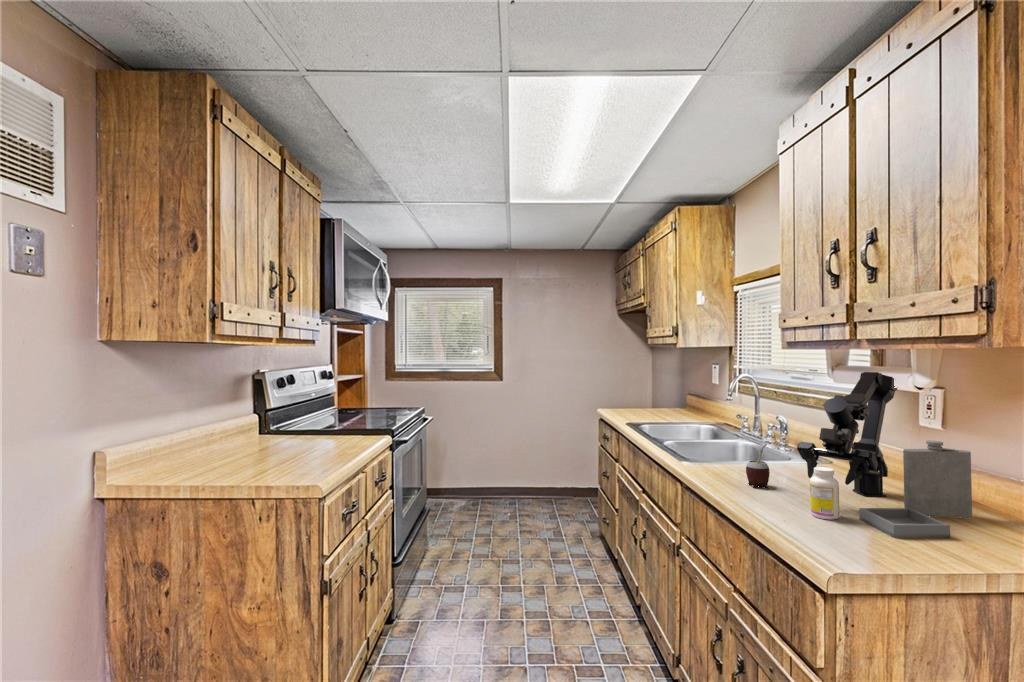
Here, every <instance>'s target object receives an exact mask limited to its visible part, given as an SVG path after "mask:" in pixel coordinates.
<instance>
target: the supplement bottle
mask: <svg viewBox="0 0 1024 682" xmlns="http://www.w3.org/2000/svg"><path fill="white" fill-rule="evenodd" d="M813 474H814V475H813V476H812V477H811V478H809V489H810V491H809V494H810V513H811V515H812V516H814V517H815V518H819V519H823V520H829V521H831V520H837V519H839V518H840V492H839V491H840V488H839V487H840V485H839V484H840V483H839V481H838V479H836V478H835V477H834V475H835V469H834V468H831V467H826V466H825V467H824V466H816V467H815V468H814V473H813Z"/></svg>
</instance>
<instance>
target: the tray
mask: <svg viewBox="0 0 1024 682" xmlns="http://www.w3.org/2000/svg"><path fill="white" fill-rule="evenodd" d="M858 515H859V517H858V519H859V521H862V522H863V523H865V524H867V525H869V526H870V527H873V528H875V529H876V530H878V531H880V532H883V533H885V534H886V535H888V536H889V537H891V538H893V539H903V538H904V539H951V525H950V524H947V523H945V522H943V521H941V520H938V519H936V518H935V517H929V516H927V515H925V514H922V513H920V512H918V511H915V510H913V509H911V508H905V507H859V508H858Z"/></svg>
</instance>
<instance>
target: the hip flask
mask: <svg viewBox="0 0 1024 682" xmlns="http://www.w3.org/2000/svg"><path fill="white" fill-rule="evenodd" d="M925 444H926V445H927V446H926V447H927V448H913V449H912V448H907V449H906V448H905V449H903V450H902V453H903V454H902V455H903V456H902V457H903V496H904V497H903V499H904V503H903V504H904V507H903V508H911V509H913V510H915V511H918V512H920V513H922V514H925V515H927V516H930V517H931V516H932V518H951V517H961V518H960V519H966V518H971V519H973V492H972V490H973V489H972V485H973V484H972V452H971V451H970V450H964V449H963V450H962V449H955V448H947V447H946V448H945V447H944V448H943V446H944V442H943V441H942V440H941V441H940V440H931V439H929V440H925Z"/></svg>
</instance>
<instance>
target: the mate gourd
mask: <svg viewBox="0 0 1024 682" xmlns="http://www.w3.org/2000/svg"><path fill="white" fill-rule="evenodd" d="M766 446H767V443H766V444H764V445H762V447H761V448H760V450H759V453H758V454H759V455H758V460H749V461H748V462H747V463H746V467H745V473H746V478H747V481H748V483H747V485H748V484H749V485H748V486H751V485H754V486H752V489H757V488H756V487H758V486H759V487H758V488H761V487H765V488H764V489H769V487H768V484H769V480H770V468H769V464H768V463H767V462H765V461H762V460H761V458H762V453H763V452H764V448H765V447H766Z"/></svg>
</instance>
